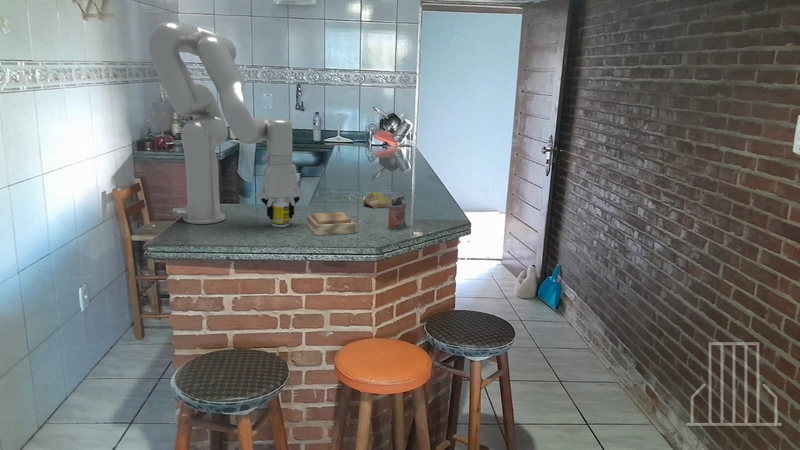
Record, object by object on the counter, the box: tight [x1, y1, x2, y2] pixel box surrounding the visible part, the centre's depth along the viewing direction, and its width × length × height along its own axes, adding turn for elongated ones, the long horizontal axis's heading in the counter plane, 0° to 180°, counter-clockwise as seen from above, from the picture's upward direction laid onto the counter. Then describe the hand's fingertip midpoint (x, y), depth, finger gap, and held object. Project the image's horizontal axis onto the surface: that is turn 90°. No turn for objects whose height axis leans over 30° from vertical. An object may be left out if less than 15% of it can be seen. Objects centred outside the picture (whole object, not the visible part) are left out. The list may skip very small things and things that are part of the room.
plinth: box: [306, 211, 356, 236], centre depth 183 cm, size 12×12×4 cm
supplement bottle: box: [271, 198, 290, 228], centre depth 185 cm, size 5×5×10 cm
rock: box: [363, 191, 392, 209], centre depth 218 cm, size 12×7×10 cm
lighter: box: [387, 194, 407, 231], centre depth 188 cm, size 8×3×10 cm, turn 148°
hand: (280, 217), depth 185 cm, fingers closed on supplement bottle, 5 cm apart
